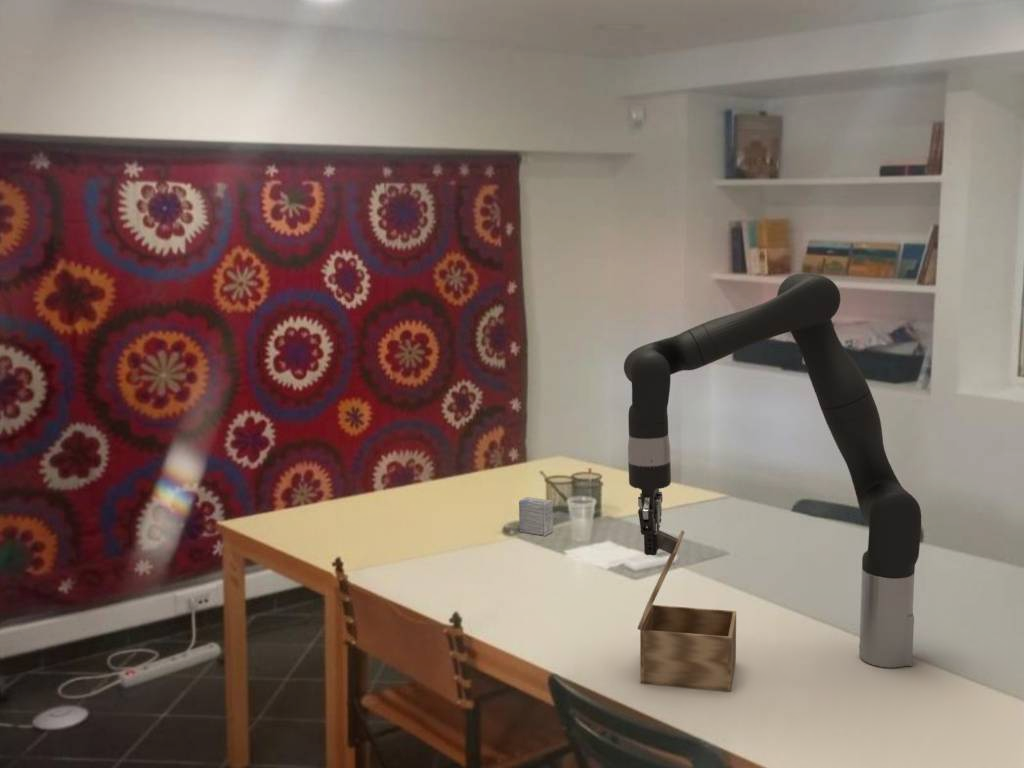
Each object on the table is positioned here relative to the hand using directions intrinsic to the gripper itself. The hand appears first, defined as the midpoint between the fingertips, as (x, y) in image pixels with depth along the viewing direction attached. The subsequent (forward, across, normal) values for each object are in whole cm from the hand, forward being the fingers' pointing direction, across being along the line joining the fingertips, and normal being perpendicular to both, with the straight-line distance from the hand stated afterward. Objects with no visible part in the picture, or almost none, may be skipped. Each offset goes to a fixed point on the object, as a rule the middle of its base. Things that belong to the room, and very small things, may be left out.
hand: (651, 551), depth 201 cm
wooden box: (+23, 0, -6) cm, 24 cm away
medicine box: (+22, +78, +42) cm, 91 cm away
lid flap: (+5, 0, -2) cm, 6 cm away
